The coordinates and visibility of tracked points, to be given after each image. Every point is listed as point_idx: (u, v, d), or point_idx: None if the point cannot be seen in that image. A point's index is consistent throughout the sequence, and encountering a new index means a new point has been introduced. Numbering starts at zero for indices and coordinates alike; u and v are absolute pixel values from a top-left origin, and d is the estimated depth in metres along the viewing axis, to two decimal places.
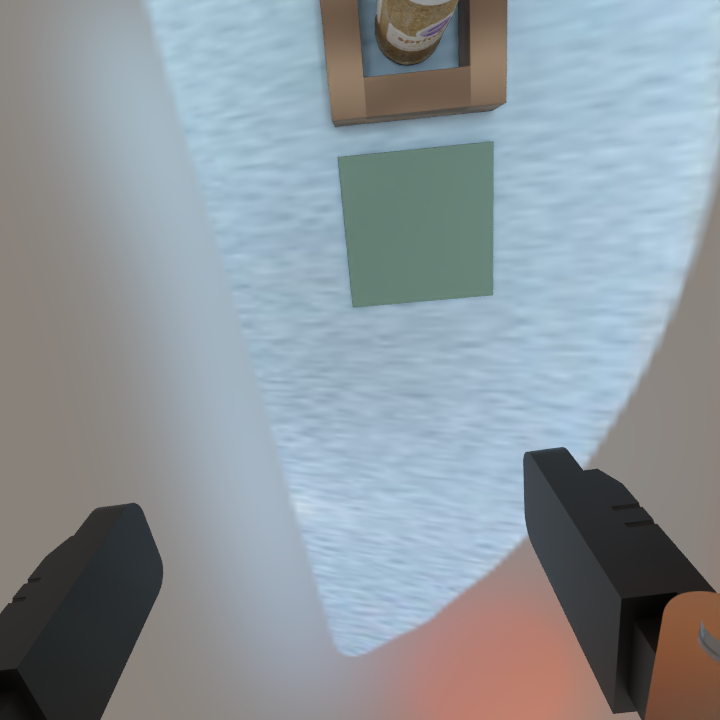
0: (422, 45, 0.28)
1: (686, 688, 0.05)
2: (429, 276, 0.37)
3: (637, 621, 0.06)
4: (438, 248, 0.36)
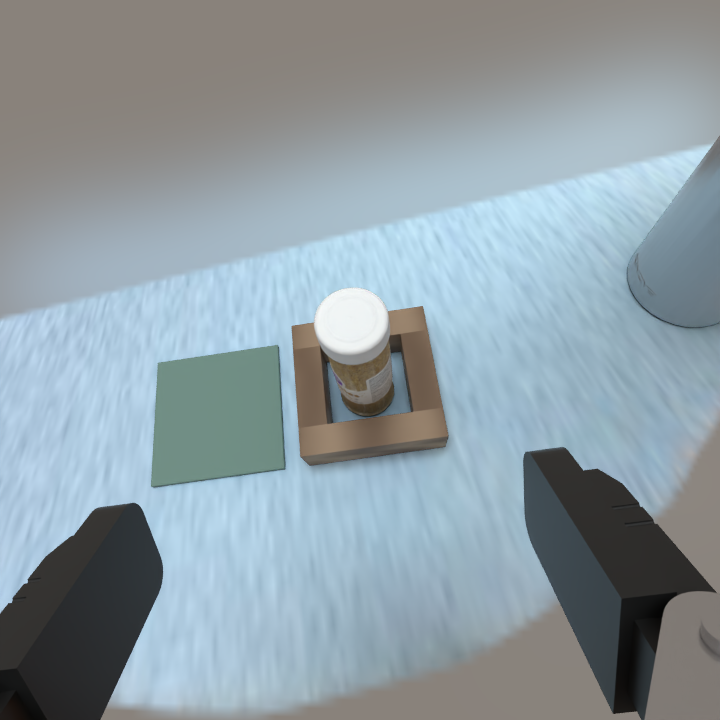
0: None
1: (686, 688, 0.05)
2: (176, 425, 0.41)
3: (637, 621, 0.06)
4: (199, 430, 0.40)
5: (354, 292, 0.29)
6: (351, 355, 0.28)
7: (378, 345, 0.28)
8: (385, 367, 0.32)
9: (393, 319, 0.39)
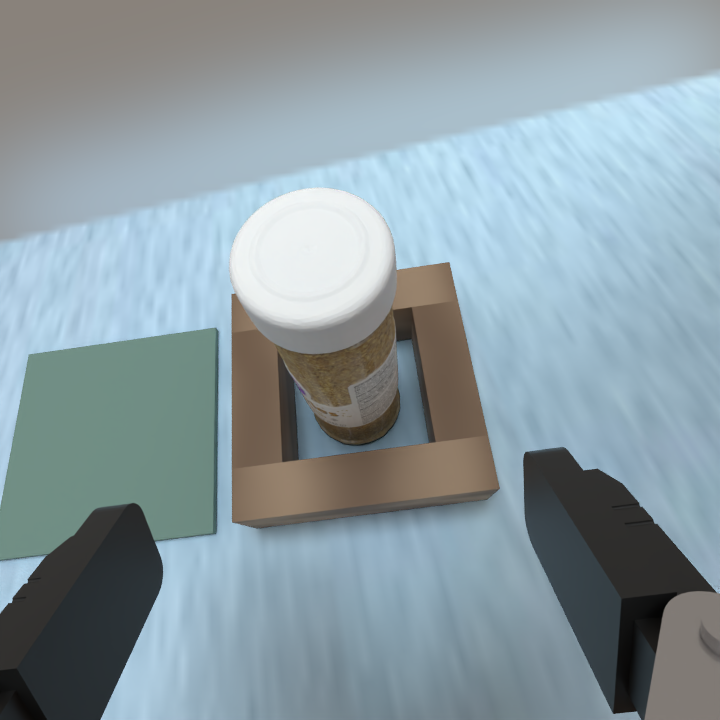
0: None
1: (686, 688, 0.05)
2: (44, 456, 0.25)
3: (637, 621, 0.06)
4: (80, 465, 0.25)
5: (319, 195, 0.13)
6: (308, 330, 0.12)
7: (370, 309, 0.12)
8: (386, 362, 0.17)
9: (399, 283, 0.23)
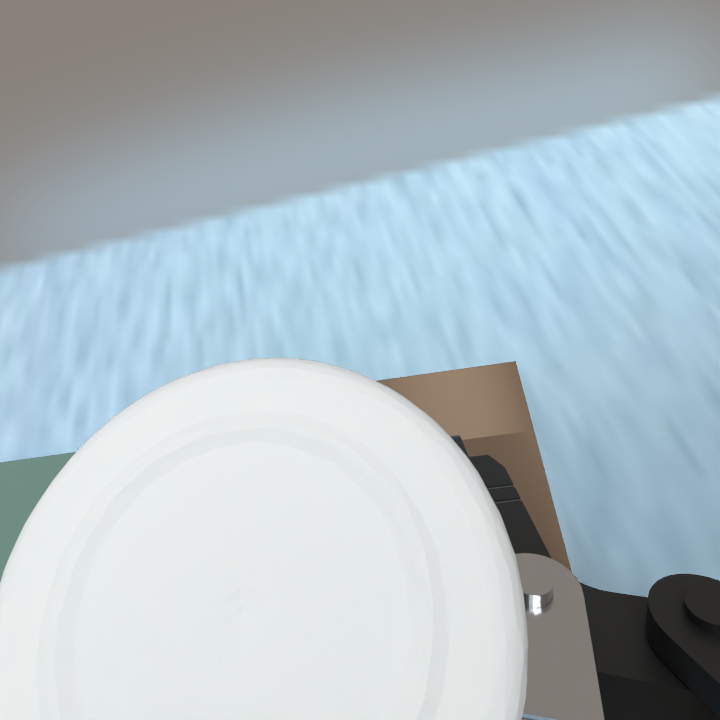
0: None
1: None
2: None
3: None
4: None
5: (280, 393, 0.04)
6: None
7: None
8: None
9: (436, 397, 0.15)
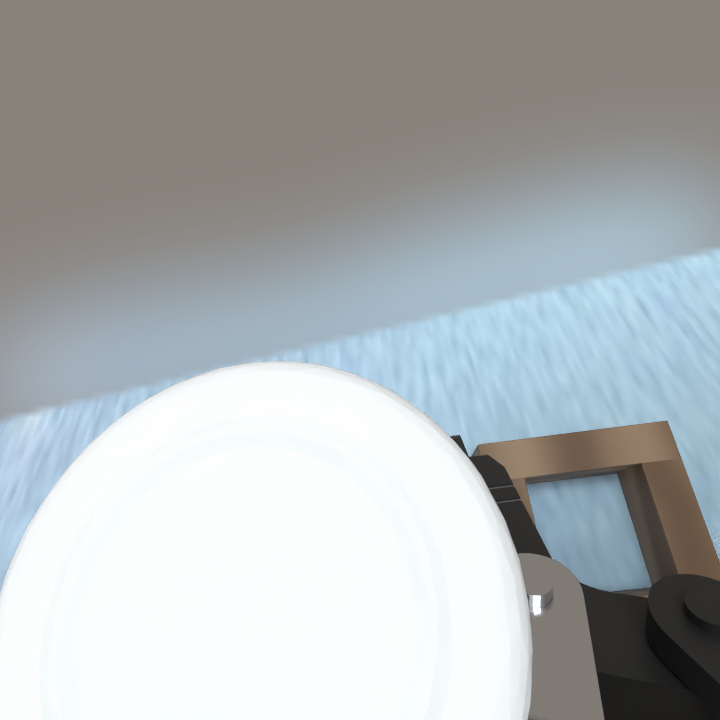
0: None
1: None
2: None
3: None
4: None
5: (282, 397, 0.04)
6: None
7: None
8: None
9: (626, 440, 0.28)
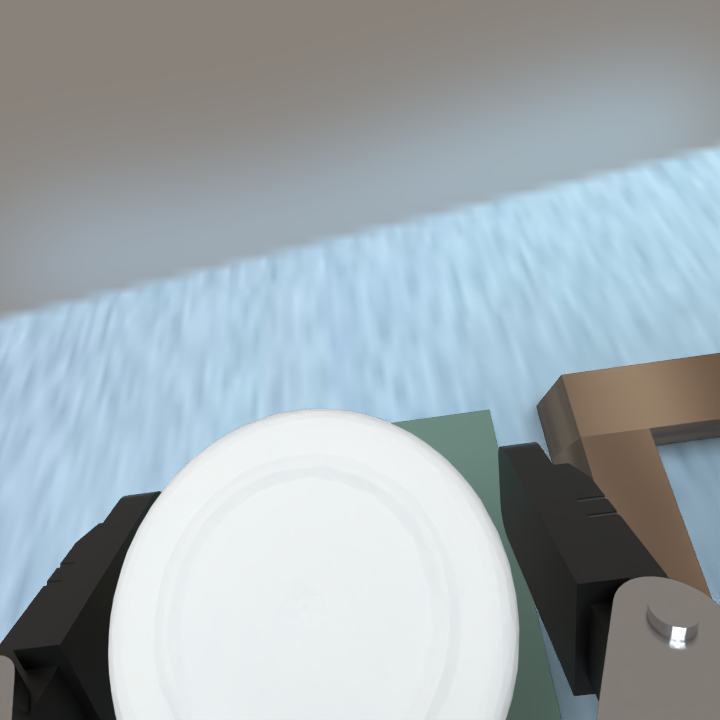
0: None
1: (628, 665, 0.05)
2: None
3: (592, 605, 0.06)
4: None
5: (327, 439, 0.06)
6: None
7: None
8: None
9: None
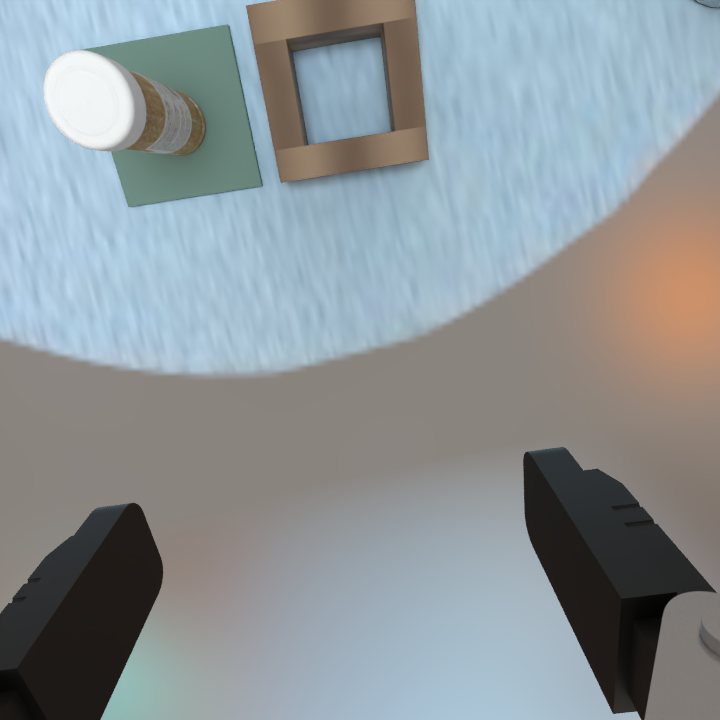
0: None
1: (686, 688, 0.05)
2: None
3: (637, 621, 0.06)
4: None
5: (81, 59, 0.23)
6: (101, 149, 0.25)
7: (129, 135, 0.25)
8: (164, 131, 0.29)
9: None
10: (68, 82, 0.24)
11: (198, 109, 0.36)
